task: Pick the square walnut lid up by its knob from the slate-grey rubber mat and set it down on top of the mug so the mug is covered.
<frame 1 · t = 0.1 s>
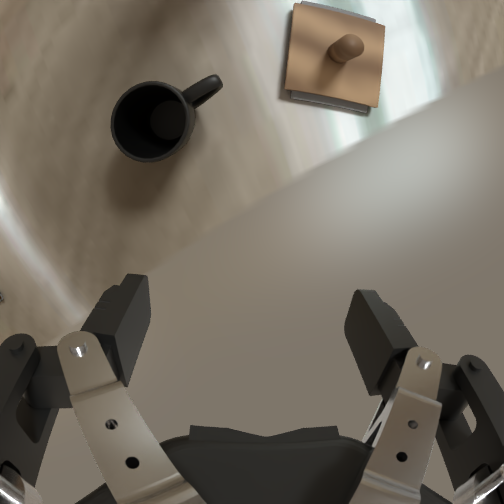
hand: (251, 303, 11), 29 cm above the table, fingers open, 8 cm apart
mat: (334, 55, 32), on the table
lid: (336, 54, 31), point 1 cm above the table, touching mat
mug: (183, 112, 35), on the table
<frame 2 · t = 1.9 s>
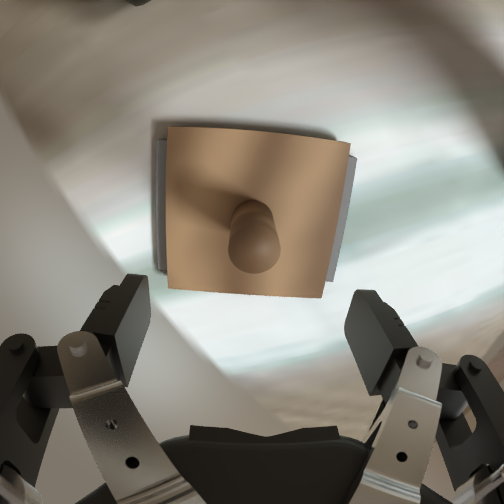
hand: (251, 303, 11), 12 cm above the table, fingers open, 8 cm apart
mat: (251, 212, 22), on the table
lid: (252, 215, 22), point 1 cm above the table, touching mat
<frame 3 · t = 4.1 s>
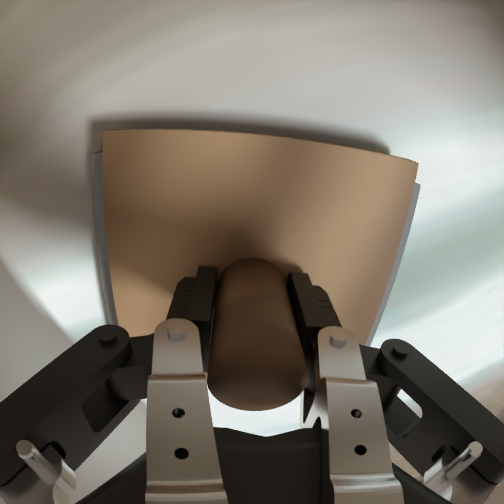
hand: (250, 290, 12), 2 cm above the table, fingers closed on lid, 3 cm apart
mat: (250, 269, 14), on the table
lid: (250, 276, 13), point 1 cm above the table, touching gripper, mat
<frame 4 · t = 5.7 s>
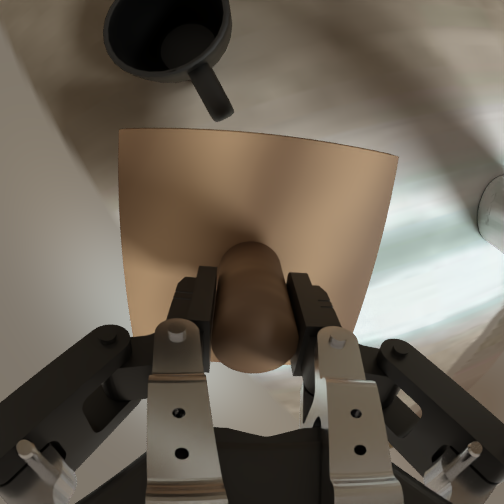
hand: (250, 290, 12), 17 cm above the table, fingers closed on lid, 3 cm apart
lid: (249, 260, 15), point 15 cm above the table, touching gripper
mug: (197, 64, 23), on the table
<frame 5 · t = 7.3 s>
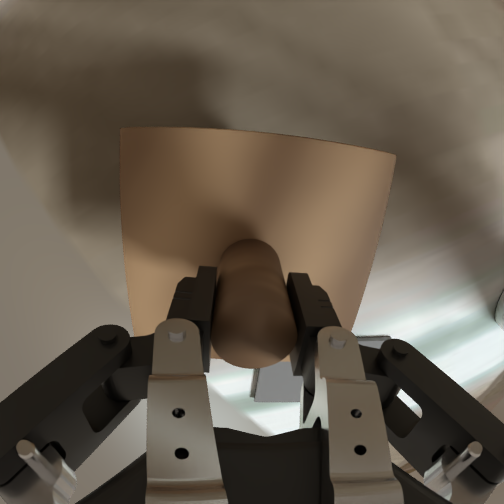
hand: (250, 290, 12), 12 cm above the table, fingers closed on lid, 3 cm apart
mat: (321, 371, 32), on the table
lid: (249, 257, 15), point 9 cm above the table, touching gripper, mug
when the fingers open (12 cm above the table, at t = 7.8 s): lid stays where it is, resting on mug.
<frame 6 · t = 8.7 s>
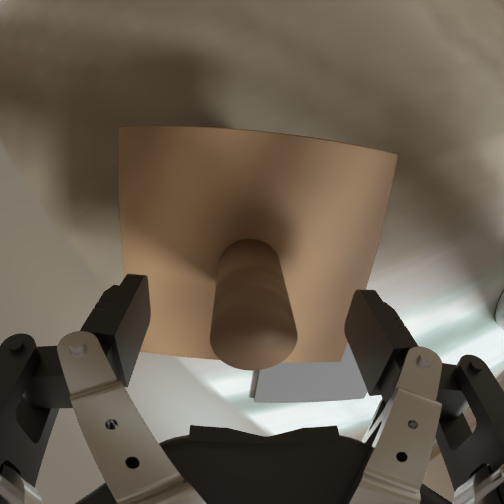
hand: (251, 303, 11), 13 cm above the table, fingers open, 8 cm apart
mat: (321, 371, 32), on the table
lid: (248, 257, 15), point 9 cm above the table, touching mug
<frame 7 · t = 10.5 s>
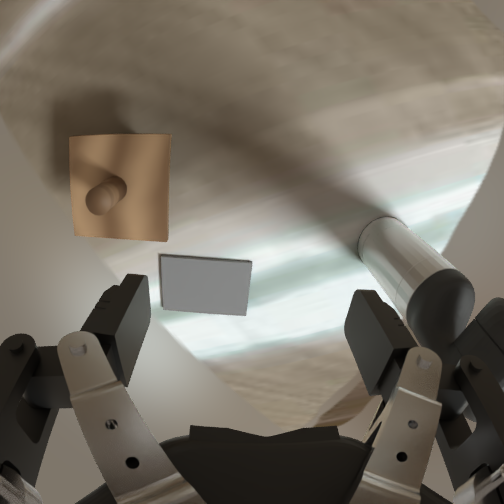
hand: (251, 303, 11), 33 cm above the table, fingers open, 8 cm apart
mat: (205, 286, 49), on the table
lid: (118, 186, 32), point 9 cm above the table, touching mug
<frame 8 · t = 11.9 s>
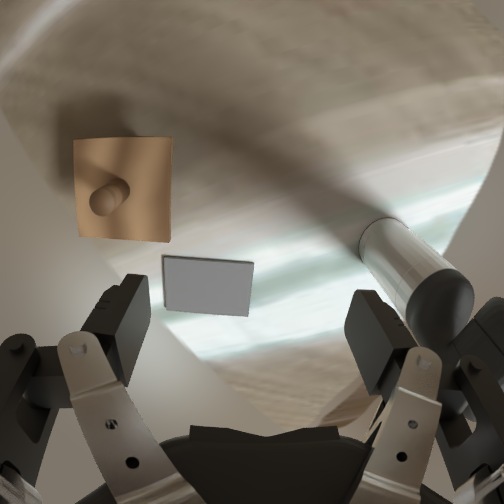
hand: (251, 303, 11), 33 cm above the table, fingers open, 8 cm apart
mat: (207, 287, 50), on the table
lid: (121, 188, 33), point 9 cm above the table, touching mug
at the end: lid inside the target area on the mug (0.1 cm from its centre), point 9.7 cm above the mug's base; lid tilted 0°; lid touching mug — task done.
